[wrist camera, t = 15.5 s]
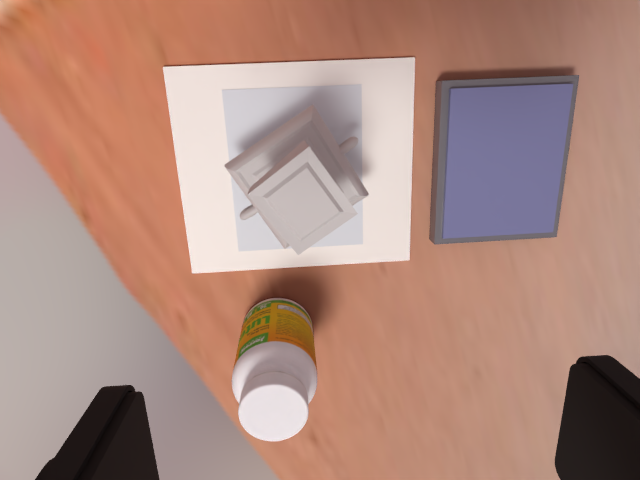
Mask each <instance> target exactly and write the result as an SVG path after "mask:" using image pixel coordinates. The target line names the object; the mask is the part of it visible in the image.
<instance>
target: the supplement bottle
mask: <svg viewBox="0 0 640 480" xmlns="http://www.w3.org/2000/svg"><path fill="white" fill-rule="evenodd" d="M316 387H317V367H316V357H315V347H314V336H313V327H312V321H311V318H310V316H309V314H308V313H307V311H306V310H305V309H304V308H303V307H302V306H301V305H299V304H298V303H296V302H294V301H292V300H289V299H285V298H270V299H266V300H264V301H261V302H259V303H258V304H256V305H255V306H254V307H253V308H251V310H250V311H249V312H248V313H247V315H246V317H245V319H244V322H243V325H242V330H241V335H240V340H239V344H238V349H237V354H236V359H235V364H234V369H233V375H232V389H233V392H234V395H235V398H236V399H237V401H238V402H239V410H238V415H239V420H240V422H241V424H242V426H243V427H244V429H245V430H246V431H247V432H248V433H249V434H251V435H252V436H254V437H256V438H258V439H261V440H265V441H281V440H285V439H288V438H290V437H292V436H294V435H295V434H297V433H298V432H299V431H300V430H301V429H302V428H303V426H304V425H305V423H306V421H307V418H308V404H309V403H310V401H311V400H312V398H313V396H314V394H315V391H316Z"/></svg>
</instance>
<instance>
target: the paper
mask: <svg viewBox="0 0 640 480" xmlns="http://www.w3.org/2000/svg"><path fill="white" fill-rule="evenodd" d="M163 71H164V78H165V85H166V92H167V99H168V106H169V113H170V120H171V127H172V134H173V141H174V148H175V155H176V162H177V169H178V176H179V183H180V190H181V197H182V204H183V211H184V218H185V225H186V232H187V239H188V246H189V253H190V260H191V267H192V273H208V272H225V271H241V270H257V269H274V268H290V267H306V266H323V265H339V264H356V263H372V262H388V261H405V260H410V225H411V189H412V153H413V117H414V81H415V57H411V58H384V59H358V60H331V61H304V62H278V63H251V64H225V65H198V66H171V67H163ZM311 105H314V106H315V108H316V110H317V111H318V113H319V114H320V116H321V118H322V119H323V121H324V123H325V124H326V126H327V127H328V129H329V131H330V132H331V134H332V135H333V137H334V139H335V140H336V142H337V143H338V145H339V144H341V143H343V142H344V141H345V140H347V139H348V138H350V137H356V138H358V144H357V145H356V146H355V147H354V148H352V149H351V150H350V151H349V152H347V153H345V154H344V155H345V156H346V158H347V159H348V161H349V163H350V164H351V166H352V167H353V169H354V171H355V172H356V174H357V175H358V177H359V179H360V180H361V182H362V183H363V185H364V187H365V188H366V190H367V191H368V193H369V195H368V196H367V197H365V198H364V199H362V200H361V201H359V202H357V203H356V204H354V205H353V208H354V209H355V211H356V212H357V213H358V214H357V215H355V216H354V217H353V218H351V219H350V220H348V221H347V222H345V223H344V224H342V225H341V226H340V227H338V228H337V229H335V230H334V231H332V232H331V233H329V234H328V235H327V236H325V237H324V238H322V239H321V240H319V241H318V242H316V243H315V244H314V245H312V246H311V247H309V248H308V249H306V250H305V251H303V252H302V253H301V254H299V255H298V254H297V253H296V252H295V251H294V250H293V249H292V247H291V246H289V247H287V248H286V249H284V247H283V246H282V245H281V243H280V242H279V241H278V239H277V238H276V237H275V235H274V234H273V232H272V231H271V230H270V228H269V227H268V226H267V224H266V223H265V221H264V220H263V219H262V217H261V216H260V215H259V213H256V214H255V215H254V216H252V217H250V218H248V219H246V220H241V219H240V213H241V211H242V210H244V209H245V208H247V207H248V206H250V205H252V204H251V202H250V201H249V199H248V198H247V197H246V195H245V194H244V193H243V191H242V190H241V188H240V187H239V186H238V184H237V183H236V182H235V180H234V179H233V177H232V176H231V175H230V173H229V172H228V171H227V169H226V168H225V164H226V163H228V162H229V161H231V160H232V159H233V158H235V157H236V156H238V155H239V154H241V153H242V152H244V151H245V150H247V149H248V148H250V147H251V146H252V145H254V144H255V143H257V142H258V141H260V140H261V139H263V138H264V137H266V136H267V135H269V134H270V133H272V132H273V131H274V130H276V129H277V128H279V127H280V126H282V125H283V124H285V123H286V122H288V121H289V120H291V119H292V118H293V117H295V116H296V115H298V114H299V113H301V112H302V111H304V110H305V109H307V108H308V107H310V106H311Z"/></svg>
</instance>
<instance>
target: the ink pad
mask: <svg viewBox="0 0 640 480" xmlns="http://www.w3.org/2000/svg"><path fill="white" fill-rule="evenodd" d="M578 80H579V75H571V76H547V77H522V78H497V79H472V80H448V81H436V94H435V118H434V141H433V165H432V188H431V212H430V235H429V239H430V240H431V241H432V242H433V243H434V244H449V243H466V242H483V241H500V240H516V239H533V238H550V237H557V230H558V223H559V216H560V209H561V202H562V195H563V188H564V180H565V173H566V166H567V159H568V152H569V145H570V138H571V130H572V123H573V116H574V109H575V102H576V95H577V88H578Z"/></svg>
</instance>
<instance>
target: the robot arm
mask: <svg viewBox="0 0 640 480" xmlns="http://www.w3.org/2000/svg"><path fill="white" fill-rule="evenodd" d="M555 467H556V471H557V473H558V476H559V478H560V479H561V480H640V379H639V378H638V377H637V376H635V375H634V374H633V373H632V372H630V371H629V370H628V369H627V368H625V367H624V366H623V365H622V364H620V363H619V362H618V361H617V360H616V359H614V358H613V357H611V356H608V355H601V356H585V357H580V358H579V359H578V360H577V362H576V364H573V365H572V366H571V368H570V371H569V377H568V383H567V389H566V396H565V402H564V408H563V414H562V420H561V426H560V432H559V438H558V444H557V450H556V456H555ZM35 480H159V475H158V470H157V465H156V459H155V455H154V449H153V443H152V438H151V433H150V428H149V422H148V417H147V412H146V407H145V401H144V396H143V394H142V392H135V389H134V387H133V386H131V385H123V386H107V387H103V388H101V389H100V390H99V392H98V393H97V395H96V396H95V398H94V399H93V401H92V402H91V404H90V406H89V407H88V409H87V410H86V411H85V413H84V414H83V416H82V417H81V419H80V420H79V422H78V423H77V425H76V426H75V428H74V429H73V431H72V432H71V434H70V435H69V437H68V438H67V440H66V441H65V443H64V444H63V446H62V447H61V449H60V450H59V452H58V453H57V455H56V456H55V458H53V459H52V460H49V462H48V463H47V464H46V465H45V466H44V468H43V469H42V470H41V472H40V473H39V475H38V476H37V478H36V479H35Z"/></svg>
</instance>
